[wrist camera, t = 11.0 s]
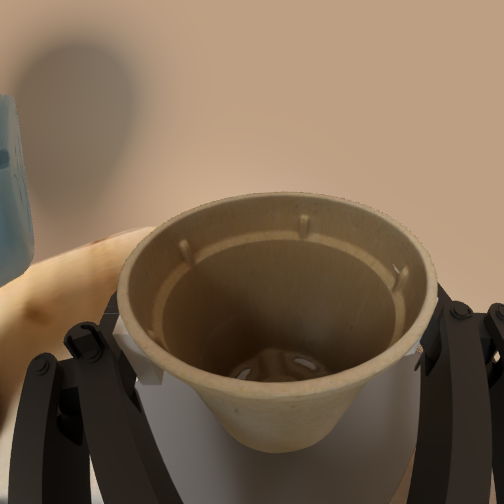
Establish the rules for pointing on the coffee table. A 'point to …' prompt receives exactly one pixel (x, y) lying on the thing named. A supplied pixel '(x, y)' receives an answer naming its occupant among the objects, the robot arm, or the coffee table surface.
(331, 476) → the plinth
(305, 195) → the flower pot
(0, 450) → the coffee table surface
